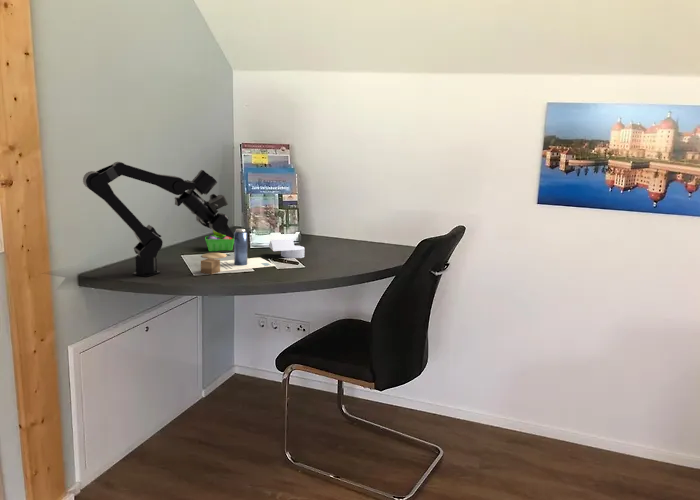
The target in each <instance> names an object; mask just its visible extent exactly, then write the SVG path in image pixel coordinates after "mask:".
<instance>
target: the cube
mask: <svg viewBox="0 0 700 500" xmlns="http://www.w3.org/2000/svg"><path fill="white" fill-rule="evenodd" d="M220 261H221V259H219V258H218V259H211V258H204V259H201V260H200V273H201V274H206V275H214V274H218V273H220V272H221V271H220Z"/></svg>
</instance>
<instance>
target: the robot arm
mask: <svg viewBox="0 0 700 500" xmlns="http://www.w3.org/2000/svg"><path fill="white" fill-rule="evenodd" d="M121 176H123V177H127V178H131V179H134V180H137V181H141V182H143V183H148V184H150V185H155V187H158V188H160V189H162V190H164V191H166V192H168V193H171V194H173V195H176V196H175V197H174V205H175V206H177V207H180V206H181V205H182V204H183V205H184V207H186V208H187V209H188V210H189V211H190V213H191V214H192V215H194V216H196V217H195V220H196V222H198V223H199V224H200V225H202V226H204V227H206V228H209V229H211V230H212V231H213V230H214V231H215V232H218V233H220V234H223V235H226V236H228V237H231V238H233V237H234V232H232V229H231V227H230V226H229V225H228V222H229V217H228V216H227V215H226V214H224V213H222V212H219V209H221V208H223V207H225V206H227V205H229V202H228V201H227V198H226V197H225V195H223V194H215V193H212V194H210V195H209V199H208V200H207V201H206V200H204V199H203V198H202V197H201V196H203V195H205V196H206V195H208V194H209V193H210V192H211V190H213V189H214V188H215V186H216V185H217V184H218V181H217V180H216V179H215V178H214V177H213V176H212V175H210V174H209V173H207V172H206V171H205V170H203V169H200V170H199V172H198V173H197V174H196V175H195V176H194V178H193V179H192V180H188V179H186V180H185V179H183V178H182V177H179V176H175V175H171V174H170V175H168V174H161V173H155V172H151V171H147V170H145V169H143V168H142V169H141V168H138V167H135V166H132V165H128V164H125V162H121V161H116V162H113V163H112V164H110V165H107V166H105V167H103V168H100V169H98V170H96V171H95V170H90V171H88V172H86V173H85V174H84V175H83V177H82V182H83V183H82V184H83V185H84V187H86V189H88V190H89V191H91V192H92V193H94V194H95V195H96V196H98V197H99V198H101V199H102V200H103V201H104V202H105V203H106V204H107V205H108V206H109V207H110V208H111V210H112V211H114V212H115V213H116V214H117V215H118V218H120V219H121V220H122V221H123V222H124V223H125V225H127V226H128V228H130V230H132V232H133V233H134V235H135V237H136V238H137V240H138V243H137V244H136V245H135V246H134V247H133V251H134V253H135V255H136V256H135V258H134V259H135V260H134V261H135V271H134V272H132V275H135V276H141V277H152V276H154V275H158V274H161V271H160V270H158V263H157V262H158V261H157V255H158V252H159V251H161V249H162V247H163V240H162V238H161V237H162V235H161V234H159V233H158V232H157V231H156V229H155V228H154V227H153V226H152V225H150V224H147V226H146V225H144V224H143V223H142V222H141V220H139V218H138V217H137V216H136V215H135V214H134V213H133V212H132V211H131V210H130V209H129V208H128V207H127V205H125V203H124V202H123V201H122V200H121V199H120V198H119V197H118V196H117V195H116V194H115V193H114V190H113V189H112V187H111V186H110V184H109V183H111V182H113V181H115V180H116V179H118V178H119V177H121ZM177 196H178V197H177Z"/></svg>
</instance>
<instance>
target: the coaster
mask: <svg viewBox="0 0 700 500" xmlns="http://www.w3.org/2000/svg"><path fill="white" fill-rule="evenodd" d="M201 256H202V258H204V259H208V258H211V259H218V260H219V259H223V258H226V257H227V254H226V253H223V252H207V253H203V254H202V255H201Z"/></svg>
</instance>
